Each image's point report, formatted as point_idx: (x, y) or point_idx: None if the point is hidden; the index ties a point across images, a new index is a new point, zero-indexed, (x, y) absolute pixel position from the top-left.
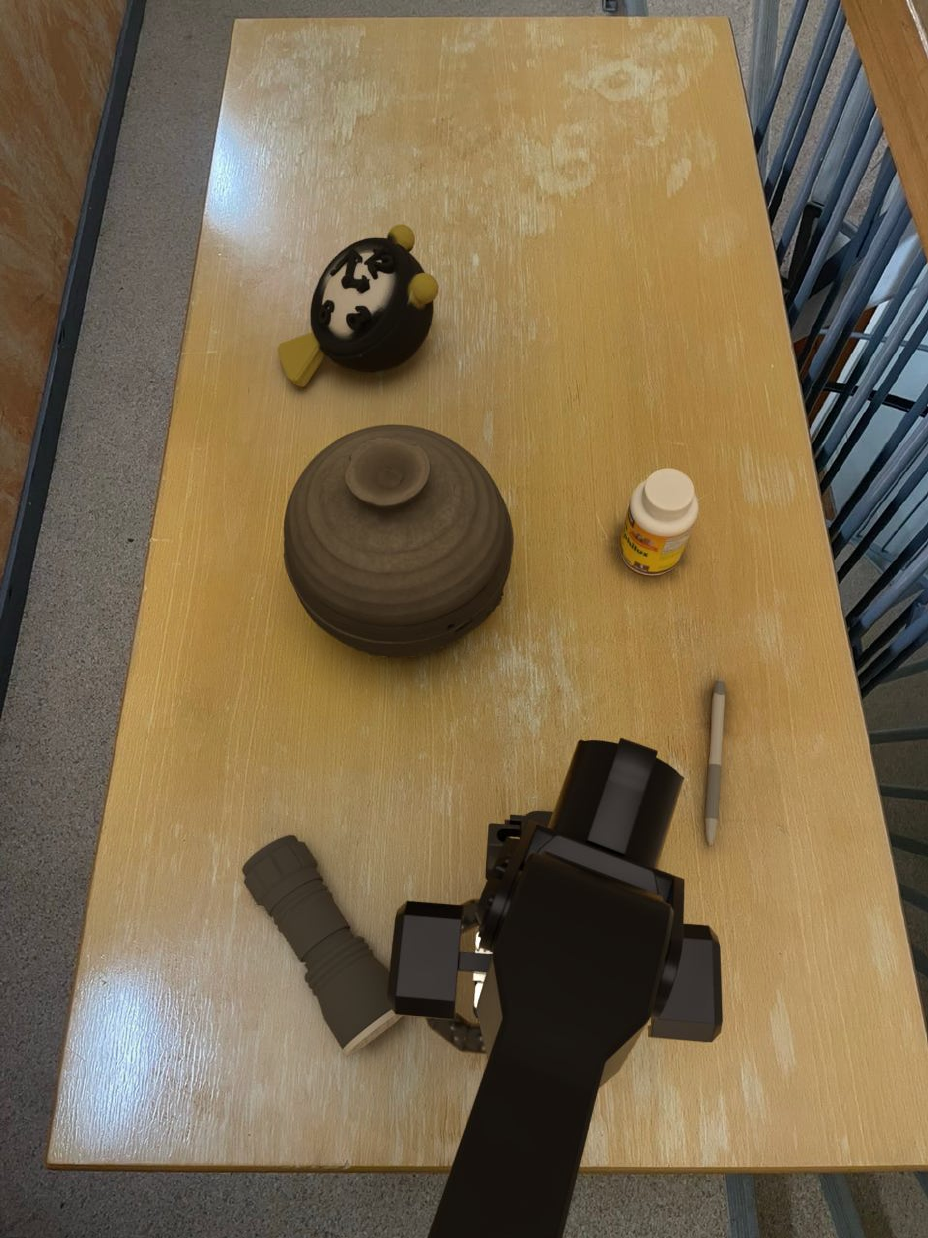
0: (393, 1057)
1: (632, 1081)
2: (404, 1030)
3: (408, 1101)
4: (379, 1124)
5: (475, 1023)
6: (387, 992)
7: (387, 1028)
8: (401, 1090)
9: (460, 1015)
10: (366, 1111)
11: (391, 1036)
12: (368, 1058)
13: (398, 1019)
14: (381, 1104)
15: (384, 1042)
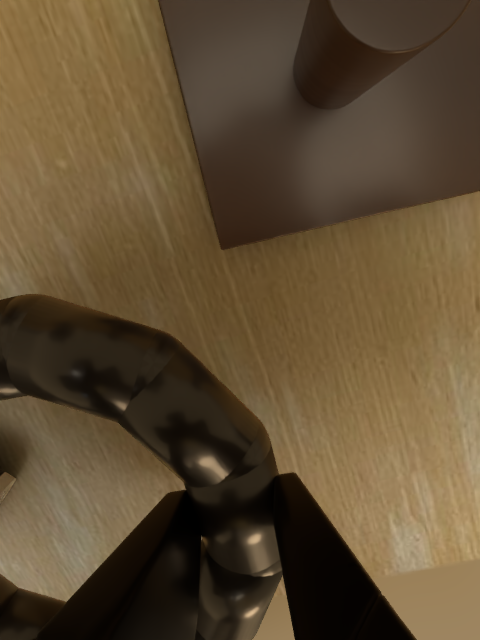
0: (40, 523)
1: (464, 458)
2: (37, 485)
3: (92, 567)
4: (65, 600)
5: None
6: None
7: (7, 492)
8: (75, 558)
9: (35, 626)
10: (39, 591)
11: (21, 498)
12: (3, 533)
13: (13, 482)
14: (55, 579)
15: (15, 508)
